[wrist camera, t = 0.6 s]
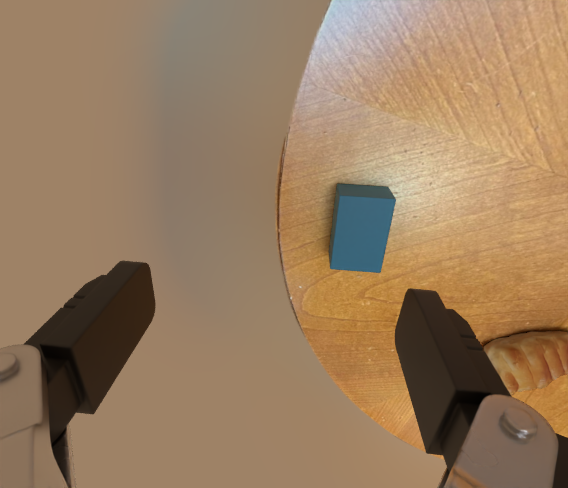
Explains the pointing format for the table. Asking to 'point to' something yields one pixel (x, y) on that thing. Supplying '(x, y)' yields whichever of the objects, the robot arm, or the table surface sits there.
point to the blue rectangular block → (360, 227)
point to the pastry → (529, 359)
